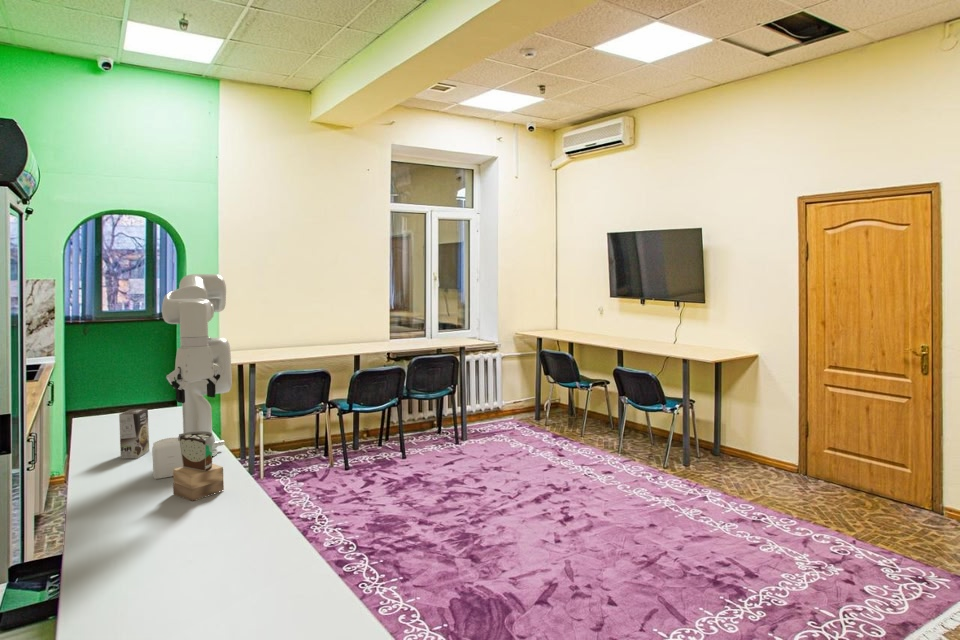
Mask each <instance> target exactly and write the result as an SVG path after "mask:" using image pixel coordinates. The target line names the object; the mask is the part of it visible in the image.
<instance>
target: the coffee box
mask: <svg viewBox="0 0 960 640" xmlns="http://www.w3.org/2000/svg"><path fill="white" fill-rule="evenodd" d="M148 410H149V409H148V408H132V409H128V410H126V411H124V412H121V413H119V415H118V418H119V419H118V420H119V445H120V447H119V449H120V459H140V458H141V457H143V456H144V455H145V453H146V454H147V453H149V452H150V433H149V411H148Z"/></svg>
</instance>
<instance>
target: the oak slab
mask: <svg viewBox="0 0 960 640" xmlns="http://www.w3.org/2000/svg"><path fill="white" fill-rule="evenodd" d="M172 477H173V482H172V483H176V484H179V485H182V486H184V487H187V488H189V489H194V488H198V487H201V486H205V485H208V484H212V483H215V482H219V481H222V480H223V481H224V467H223V466H222V465H217V464H215V463H212V468H211V469H210V470H208V471H200V470H195V469H190V468H185V467H180V468H176V469H173V476H172Z"/></svg>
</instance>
